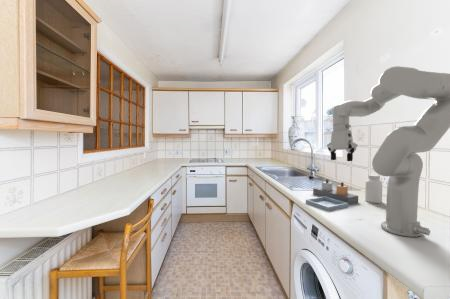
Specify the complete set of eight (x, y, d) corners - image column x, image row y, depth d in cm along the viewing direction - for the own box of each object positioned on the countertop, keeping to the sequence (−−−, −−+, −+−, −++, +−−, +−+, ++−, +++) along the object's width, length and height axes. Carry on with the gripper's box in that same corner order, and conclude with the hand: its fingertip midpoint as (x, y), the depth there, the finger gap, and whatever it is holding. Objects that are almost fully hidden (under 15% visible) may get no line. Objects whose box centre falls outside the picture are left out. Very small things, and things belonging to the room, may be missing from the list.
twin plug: (332, 197, 133) (332, 179, 132) (327, 198, 131) (327, 180, 131) (326, 195, 137) (326, 178, 136) (321, 196, 135) (322, 179, 134)
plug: (347, 201, 124) (347, 182, 123) (342, 202, 122) (343, 183, 121) (340, 200, 127) (341, 181, 127) (336, 201, 126) (336, 182, 125)
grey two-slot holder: (358, 203, 120) (358, 195, 120) (348, 205, 117) (348, 197, 117) (322, 193, 142) (322, 186, 142) (313, 195, 138) (313, 188, 138)
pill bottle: (371, 198, 129) (372, 173, 129) (385, 202, 122) (386, 176, 121) (361, 200, 127) (362, 174, 126) (375, 204, 119) (375, 177, 118)
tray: (348, 208, 113) (348, 203, 113) (328, 212, 107) (328, 207, 107) (324, 200, 126) (324, 196, 126) (305, 204, 120) (305, 199, 120)
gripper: (361, 126, 108) (362, 161, 108) (332, 129, 124) (332, 159, 124) (351, 126, 105) (351, 161, 105) (322, 129, 121) (322, 159, 121)
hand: (341, 160), depth 115 cm, fingers open, 9 cm apart
